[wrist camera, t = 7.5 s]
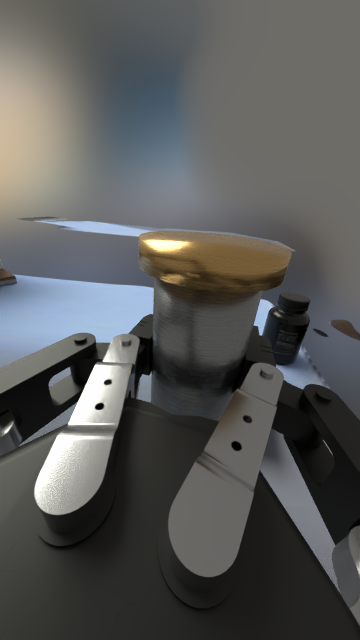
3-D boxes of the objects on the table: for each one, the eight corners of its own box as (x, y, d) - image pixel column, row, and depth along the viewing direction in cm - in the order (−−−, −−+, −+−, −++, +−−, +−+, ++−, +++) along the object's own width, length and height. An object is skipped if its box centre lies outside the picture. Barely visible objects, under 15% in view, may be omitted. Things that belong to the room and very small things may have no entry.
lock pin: (123, 470, 12) (107, 241, 7) (158, 396, 17) (165, 228, 11) (226, 506, 11) (311, 268, 5) (231, 415, 16) (279, 241, 10)
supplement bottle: (300, 356, 43) (324, 299, 37) (285, 371, 38) (309, 308, 33) (268, 340, 47) (284, 287, 41) (251, 352, 43) (266, 294, 37)
